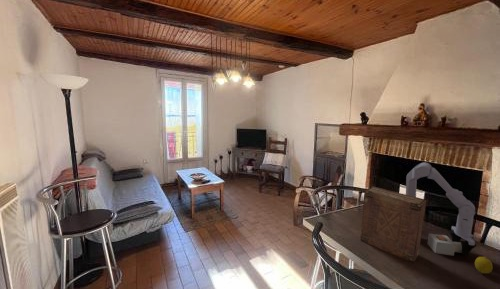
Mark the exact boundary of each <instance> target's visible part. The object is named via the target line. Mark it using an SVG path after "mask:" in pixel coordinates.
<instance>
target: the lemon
mask: <svg viewBox="0 0 500 289" xmlns="http://www.w3.org/2000/svg"><path fill="white" fill-rule="evenodd" d="M474 267H475V268H476V270H477V271H478V272H480V273H481V274H490V273H492V271H493V263H492V261H491V260H490V259H489V258H487V257H486V256H478V257H476V259H475V261H474Z"/></svg>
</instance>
